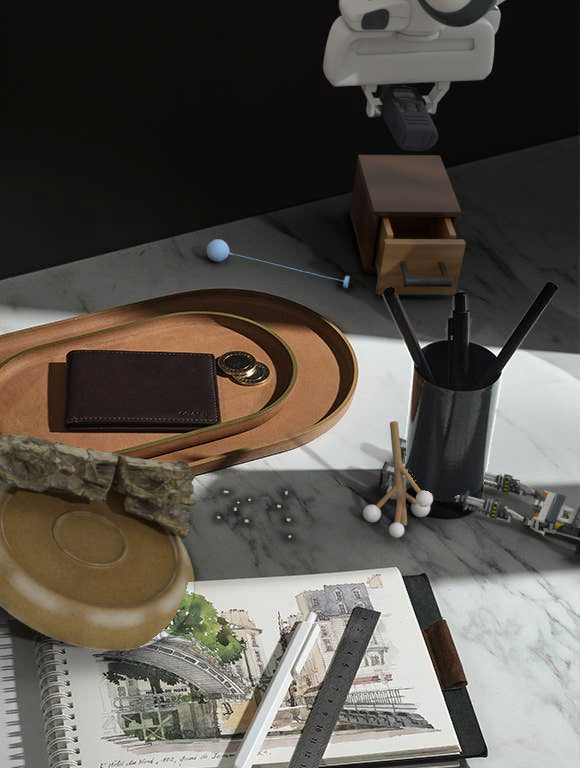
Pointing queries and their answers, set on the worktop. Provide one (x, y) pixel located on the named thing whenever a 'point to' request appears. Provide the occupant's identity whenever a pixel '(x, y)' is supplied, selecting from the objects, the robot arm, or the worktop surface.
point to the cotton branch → (400, 492)
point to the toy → (545, 514)
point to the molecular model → (220, 251)
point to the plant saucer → (88, 569)
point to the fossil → (101, 478)
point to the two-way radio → (407, 118)
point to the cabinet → (398, 195)
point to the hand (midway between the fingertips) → (400, 113)
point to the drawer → (417, 255)
